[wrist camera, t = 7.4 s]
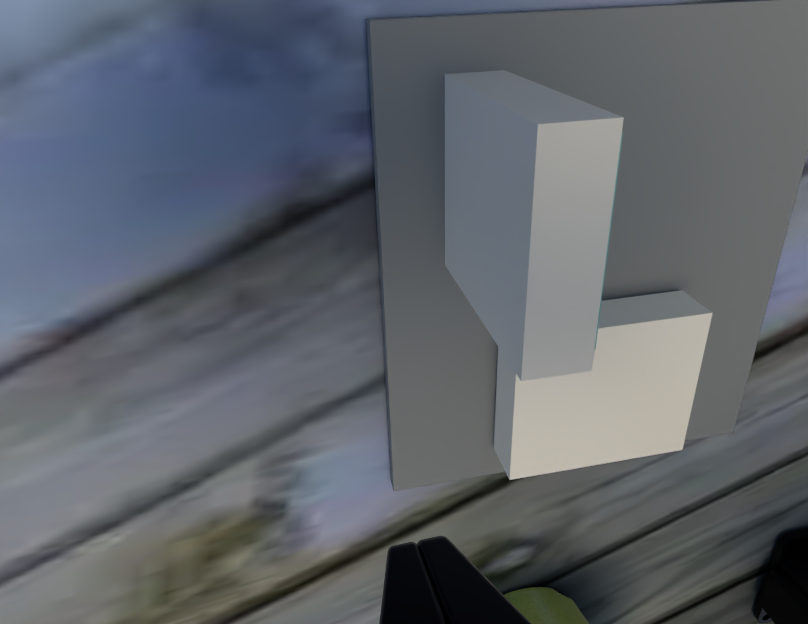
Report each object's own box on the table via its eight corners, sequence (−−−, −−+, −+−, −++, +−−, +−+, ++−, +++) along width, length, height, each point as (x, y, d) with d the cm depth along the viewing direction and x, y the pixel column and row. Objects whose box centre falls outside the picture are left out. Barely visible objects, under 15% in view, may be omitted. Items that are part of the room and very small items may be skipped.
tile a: (497, 311, 23) (678, 287, 24) (492, 445, 26) (654, 418, 27) (518, 339, 21) (712, 312, 22) (509, 479, 24) (682, 449, 25)
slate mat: (833, -4, 21) (848, -4, 20) (724, 424, 29) (733, 432, 28) (366, 19, 18) (369, 20, 18) (390, 480, 26) (393, 491, 26)
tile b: (510, 69, 19) (633, 116, 13) (502, 258, 22) (598, 369, 16) (444, 73, 19) (538, 124, 13) (444, 265, 21) (521, 381, 15)
